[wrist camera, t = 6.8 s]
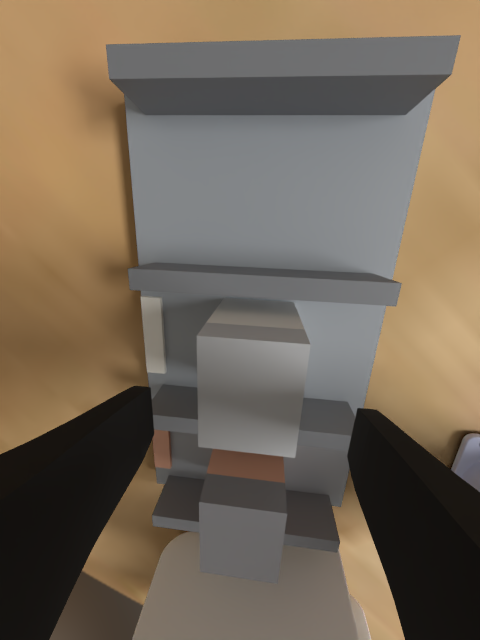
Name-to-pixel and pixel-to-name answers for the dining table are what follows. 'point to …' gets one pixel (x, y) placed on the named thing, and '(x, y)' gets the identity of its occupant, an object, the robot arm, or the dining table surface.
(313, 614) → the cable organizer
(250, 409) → the grey rectangular block
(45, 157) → the dining table surface
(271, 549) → the brown and grey box
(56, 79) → the dining table surface
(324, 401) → the grey tiered rack
